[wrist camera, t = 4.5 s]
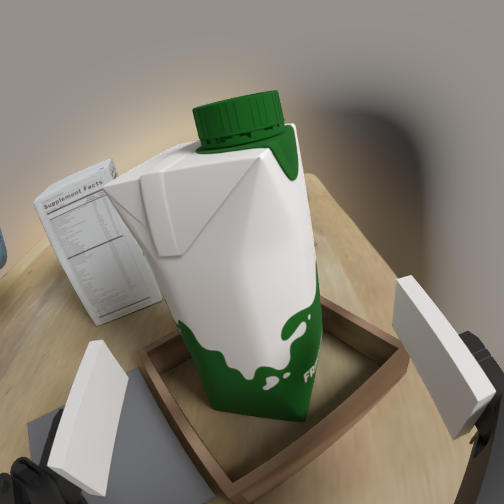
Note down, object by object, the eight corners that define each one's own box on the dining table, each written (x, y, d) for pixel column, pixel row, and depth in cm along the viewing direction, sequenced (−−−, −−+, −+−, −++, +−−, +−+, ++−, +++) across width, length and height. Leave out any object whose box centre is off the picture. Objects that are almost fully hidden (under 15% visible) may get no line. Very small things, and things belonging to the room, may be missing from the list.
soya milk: (315, 434, 18) (259, 95, 9) (197, 416, 22) (67, 152, 12) (331, 343, 26) (299, 85, 16) (233, 338, 29) (163, 115, 19)
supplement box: (155, 267, 44) (115, 155, 36) (164, 301, 36) (111, 164, 28) (96, 290, 42) (49, 183, 33) (94, 328, 34) (30, 200, 26)
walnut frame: (150, 373, 26) (137, 351, 25) (282, 295, 33) (278, 271, 31) (241, 509, 14) (228, 498, 13) (406, 372, 21) (411, 346, 19)
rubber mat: (29, 425, 21) (27, 423, 21) (139, 369, 27) (138, 367, 27) (59, 559, 10) (56, 558, 9) (216, 496, 15) (215, 495, 15)
